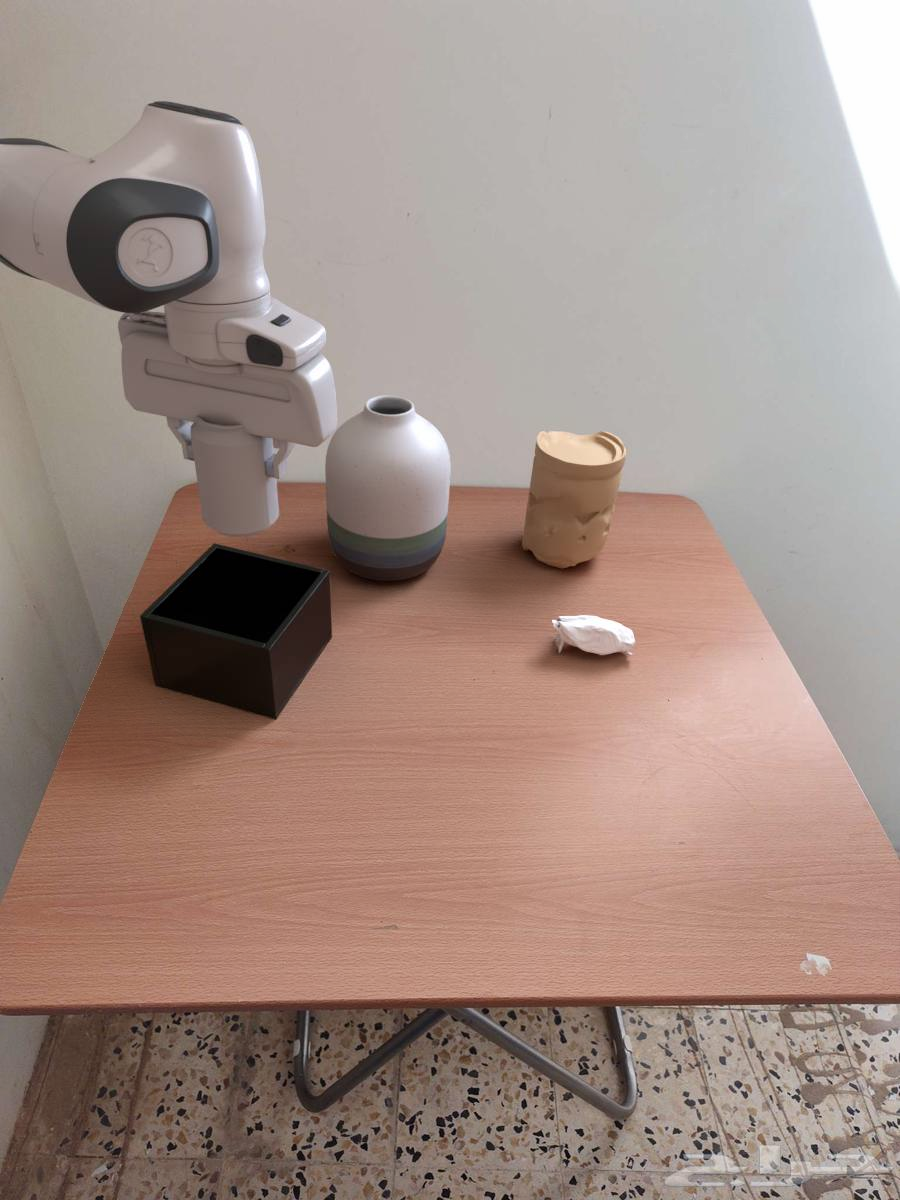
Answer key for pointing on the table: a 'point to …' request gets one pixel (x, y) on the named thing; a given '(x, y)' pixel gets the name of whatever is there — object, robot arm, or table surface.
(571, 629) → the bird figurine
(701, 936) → the table surface
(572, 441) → the container
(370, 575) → the vase
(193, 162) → the robot arm
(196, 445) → the can
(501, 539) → the table surface
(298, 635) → the bin
